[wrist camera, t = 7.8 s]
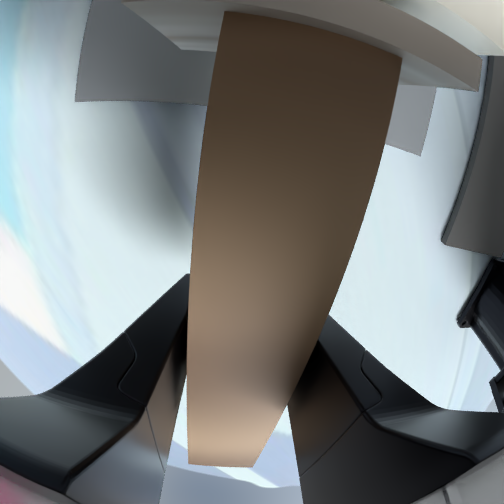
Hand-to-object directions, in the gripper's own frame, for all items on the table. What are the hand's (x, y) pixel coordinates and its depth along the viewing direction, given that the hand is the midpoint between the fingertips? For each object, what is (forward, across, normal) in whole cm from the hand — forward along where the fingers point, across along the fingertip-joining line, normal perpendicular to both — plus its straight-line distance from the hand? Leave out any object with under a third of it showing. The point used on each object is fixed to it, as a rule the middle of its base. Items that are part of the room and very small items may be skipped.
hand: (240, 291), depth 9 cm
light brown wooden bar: (+1, 0, 0) cm, 1 cm away
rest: (+6, -16, -9) cm, 19 cm away
